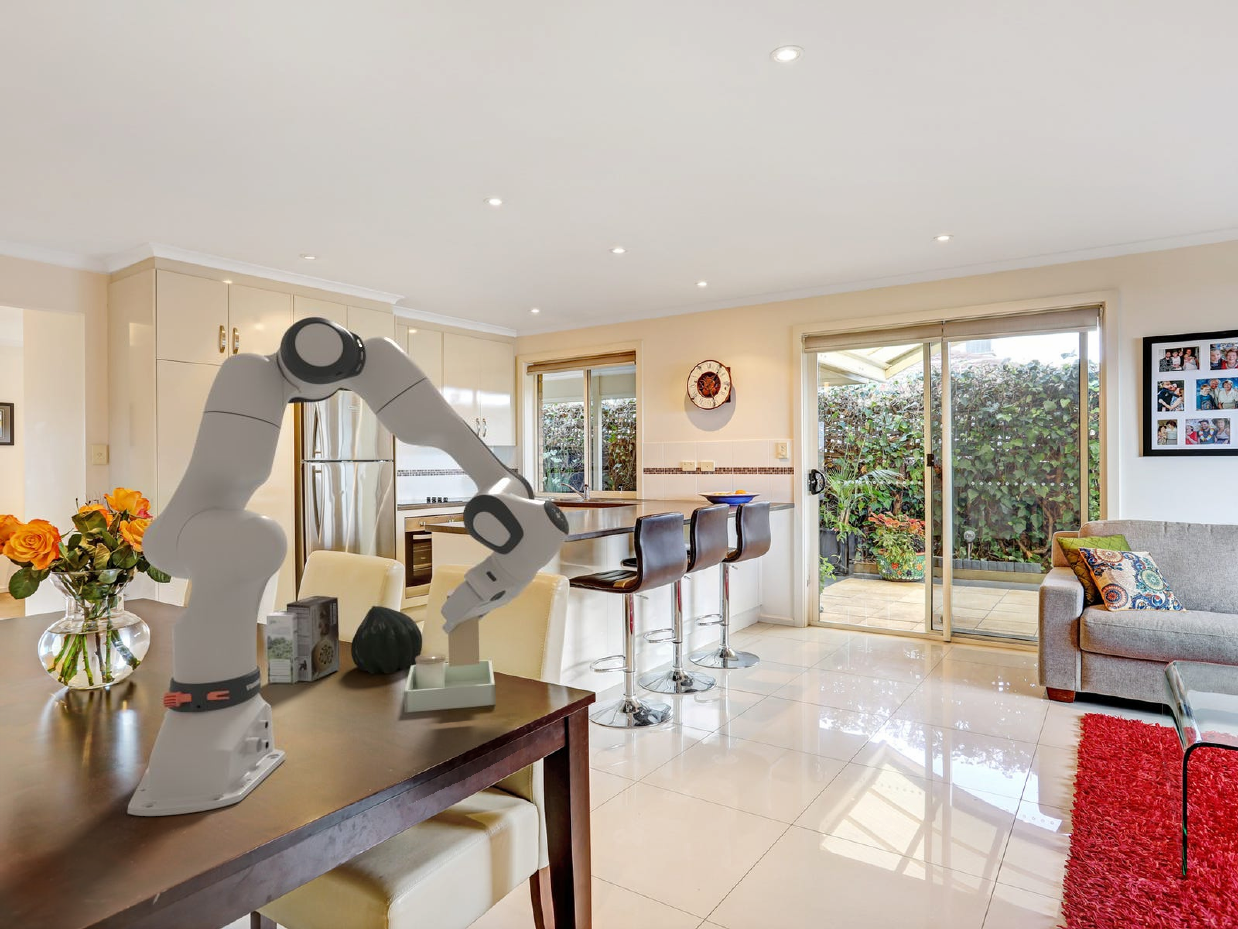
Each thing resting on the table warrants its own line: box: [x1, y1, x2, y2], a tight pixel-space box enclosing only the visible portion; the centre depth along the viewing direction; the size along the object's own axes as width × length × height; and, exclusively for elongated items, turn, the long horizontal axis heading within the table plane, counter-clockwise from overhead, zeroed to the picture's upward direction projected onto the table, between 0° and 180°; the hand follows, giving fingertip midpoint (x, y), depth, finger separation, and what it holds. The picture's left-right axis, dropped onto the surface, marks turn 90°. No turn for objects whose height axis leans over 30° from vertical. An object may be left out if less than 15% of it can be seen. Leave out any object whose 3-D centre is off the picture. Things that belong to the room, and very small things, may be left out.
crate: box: [403, 659, 496, 713], centre depth 139 cm, size 17×16×4 cm
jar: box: [415, 652, 446, 690], centre depth 143 cm, size 6×6×6 cm
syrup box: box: [266, 609, 300, 685], centre depth 152 cm, size 6×6×14 cm
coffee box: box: [286, 595, 341, 682], centre depth 155 cm, size 9×6×16 cm
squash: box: [350, 605, 423, 675], centre depth 158 cm, size 14×15×15 cm
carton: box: [446, 589, 480, 667], centre depth 136 cm, size 6×6×13 cm
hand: (460, 624), depth 136 cm, fingers closed on carton, 8 cm apart
